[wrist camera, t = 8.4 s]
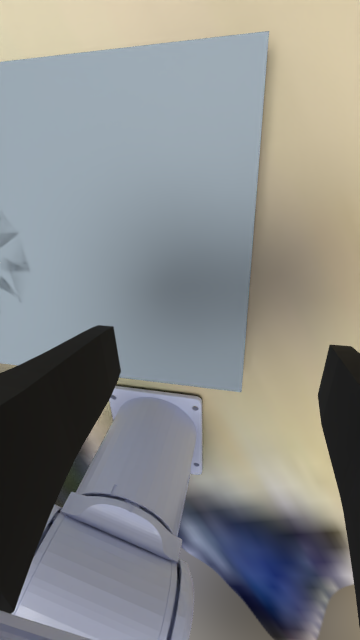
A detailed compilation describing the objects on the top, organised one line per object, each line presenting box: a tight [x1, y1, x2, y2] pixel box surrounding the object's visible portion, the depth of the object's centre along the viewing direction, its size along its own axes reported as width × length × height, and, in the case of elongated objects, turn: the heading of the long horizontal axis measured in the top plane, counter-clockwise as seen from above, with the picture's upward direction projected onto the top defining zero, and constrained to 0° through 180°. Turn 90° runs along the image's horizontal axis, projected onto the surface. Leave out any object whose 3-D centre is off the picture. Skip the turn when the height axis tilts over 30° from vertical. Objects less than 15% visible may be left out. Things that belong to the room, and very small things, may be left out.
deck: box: [0, 31, 269, 392], centre depth 20 cm, size 26×18×2 cm
